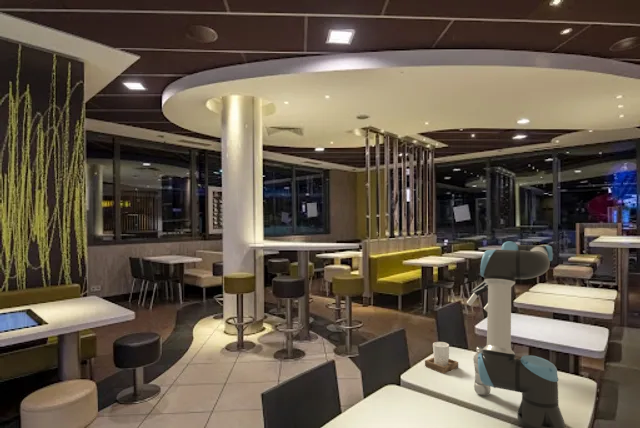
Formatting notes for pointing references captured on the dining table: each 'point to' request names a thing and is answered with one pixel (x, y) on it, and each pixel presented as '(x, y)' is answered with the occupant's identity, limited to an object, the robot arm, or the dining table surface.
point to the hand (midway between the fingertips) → (476, 307)
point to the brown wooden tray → (451, 366)
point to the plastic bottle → (478, 384)
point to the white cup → (441, 353)
